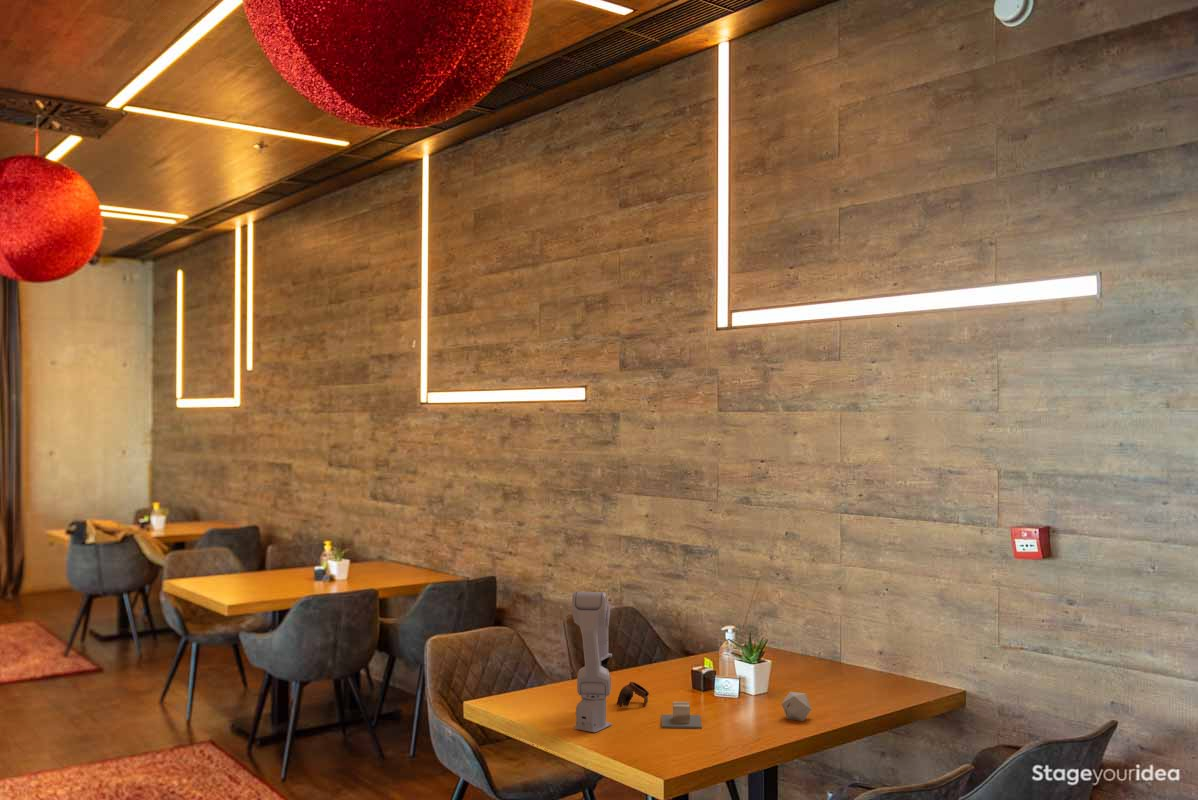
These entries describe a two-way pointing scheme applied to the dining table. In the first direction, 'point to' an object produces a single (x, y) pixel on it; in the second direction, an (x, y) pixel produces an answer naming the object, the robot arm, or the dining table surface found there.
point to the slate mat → (694, 723)
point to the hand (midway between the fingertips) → (599, 683)
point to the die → (796, 706)
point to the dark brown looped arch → (631, 694)
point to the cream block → (681, 712)
